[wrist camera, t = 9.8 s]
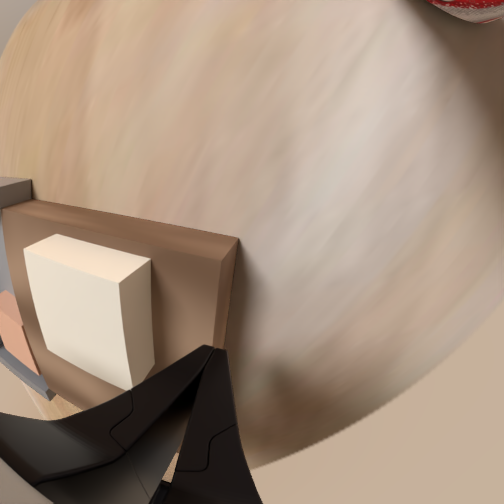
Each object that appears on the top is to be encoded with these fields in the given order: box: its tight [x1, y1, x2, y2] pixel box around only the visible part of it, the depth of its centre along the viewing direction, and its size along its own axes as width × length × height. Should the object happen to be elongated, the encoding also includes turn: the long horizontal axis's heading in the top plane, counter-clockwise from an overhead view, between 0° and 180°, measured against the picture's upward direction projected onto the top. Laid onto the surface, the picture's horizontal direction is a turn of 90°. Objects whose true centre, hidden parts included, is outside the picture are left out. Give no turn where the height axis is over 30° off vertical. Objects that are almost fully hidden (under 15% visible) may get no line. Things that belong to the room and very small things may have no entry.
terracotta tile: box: [0, 290, 42, 376], centre depth 15 cm, size 5×5×2 cm
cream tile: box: [23, 234, 155, 391], centre depth 9 cm, size 5×5×2 cm
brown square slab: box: [1, 199, 239, 453], centre depth 13 cm, size 14×13×2 cm
